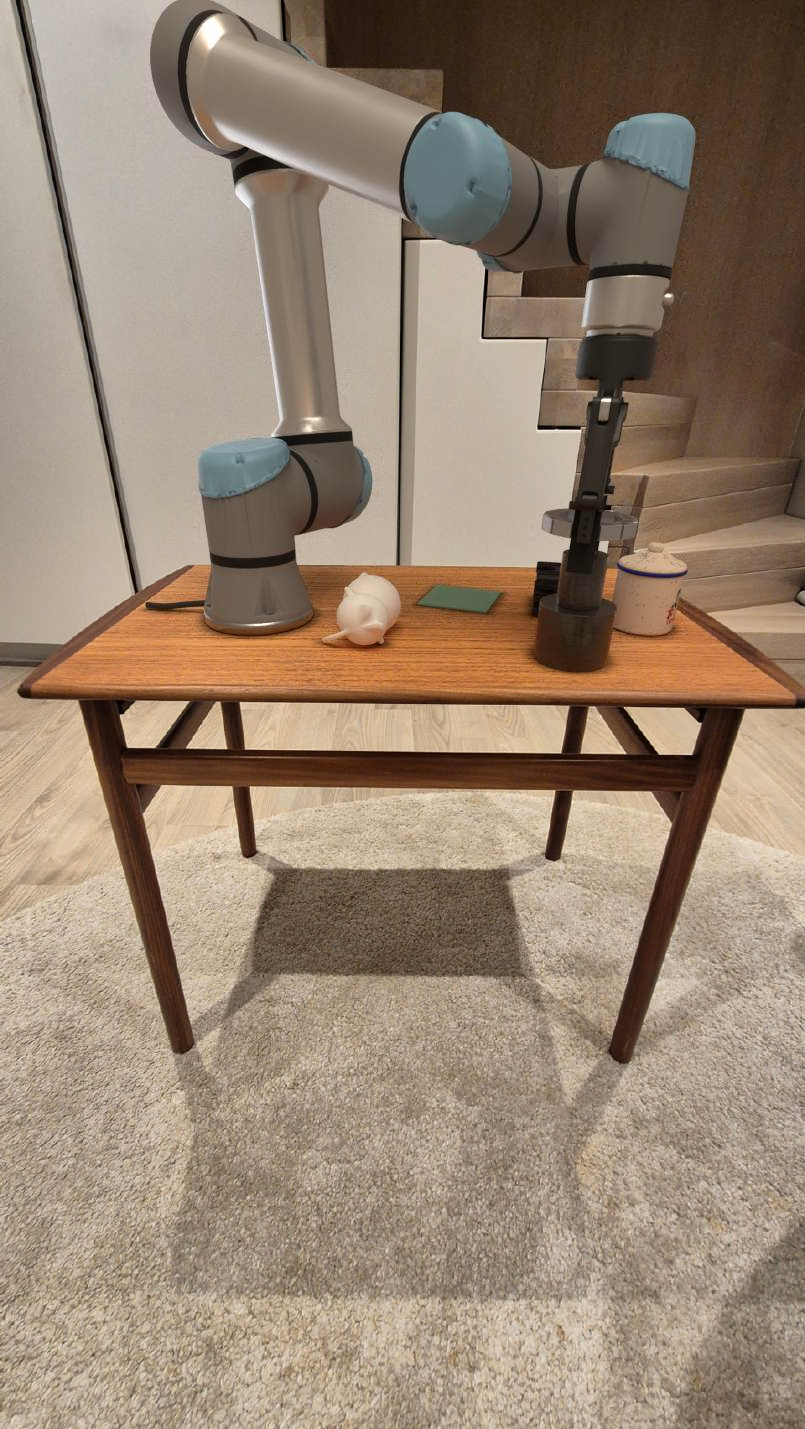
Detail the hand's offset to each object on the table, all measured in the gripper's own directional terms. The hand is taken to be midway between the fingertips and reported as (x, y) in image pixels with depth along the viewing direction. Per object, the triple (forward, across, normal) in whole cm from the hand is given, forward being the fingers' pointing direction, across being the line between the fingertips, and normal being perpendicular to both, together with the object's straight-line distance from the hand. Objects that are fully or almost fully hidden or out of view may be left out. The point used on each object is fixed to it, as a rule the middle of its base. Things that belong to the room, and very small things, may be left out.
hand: (582, 560), depth 70 cm
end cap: (+12, +19, +4) cm, 23 cm away
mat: (+12, +18, +19) cm, 29 cm away
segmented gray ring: (-3, 0, 0) cm, 3 cm away
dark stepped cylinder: (+12, 0, 0) cm, 12 cm away
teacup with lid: (+12, +17, -8) cm, 22 cm away
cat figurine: (+13, -3, +27) cm, 30 cm away
